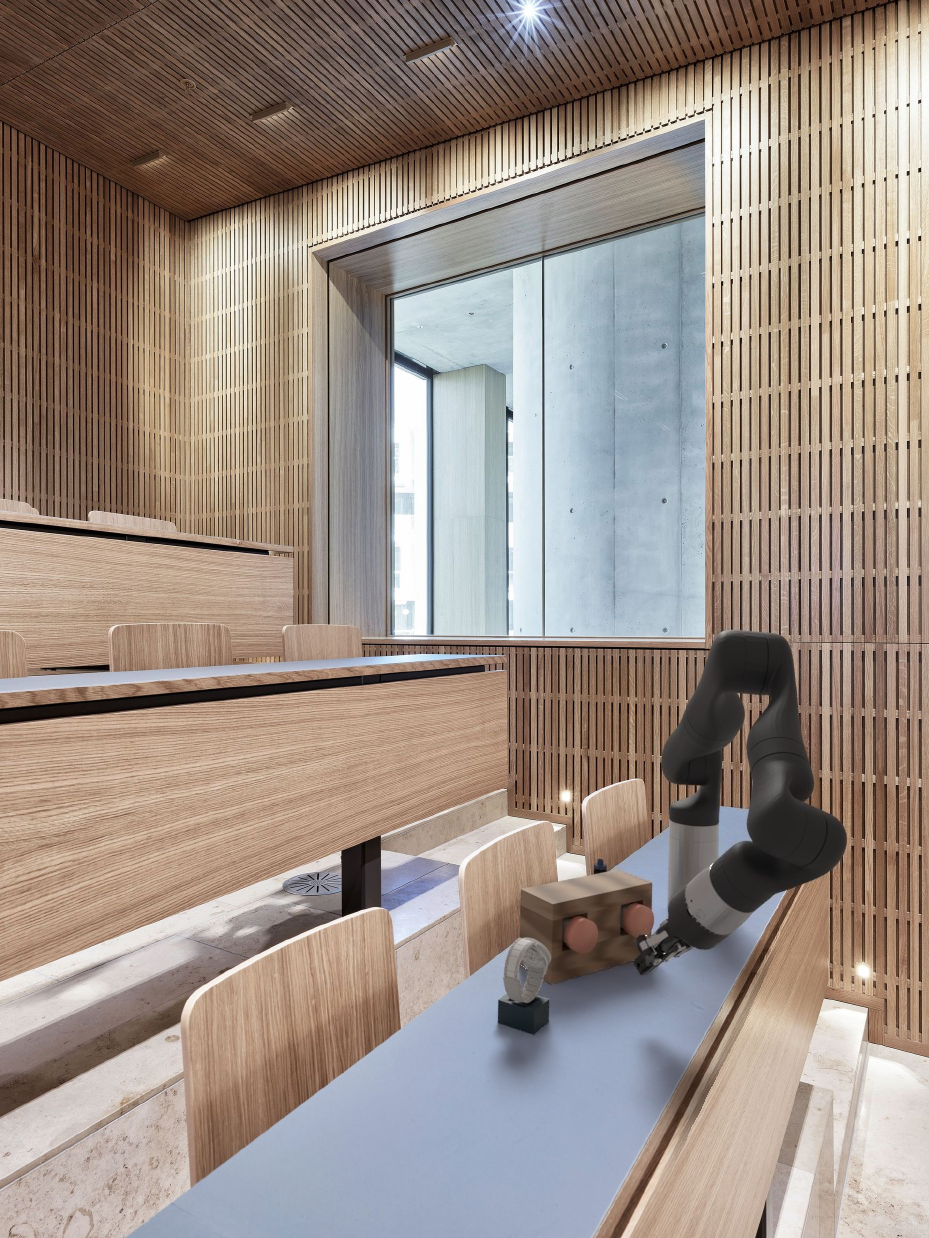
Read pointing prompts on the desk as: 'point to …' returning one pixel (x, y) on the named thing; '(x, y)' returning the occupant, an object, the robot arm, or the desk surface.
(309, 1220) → the desk surface
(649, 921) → the knob
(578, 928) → the knob
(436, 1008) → the desk surface
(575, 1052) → the desk surface
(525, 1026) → the watch
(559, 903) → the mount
